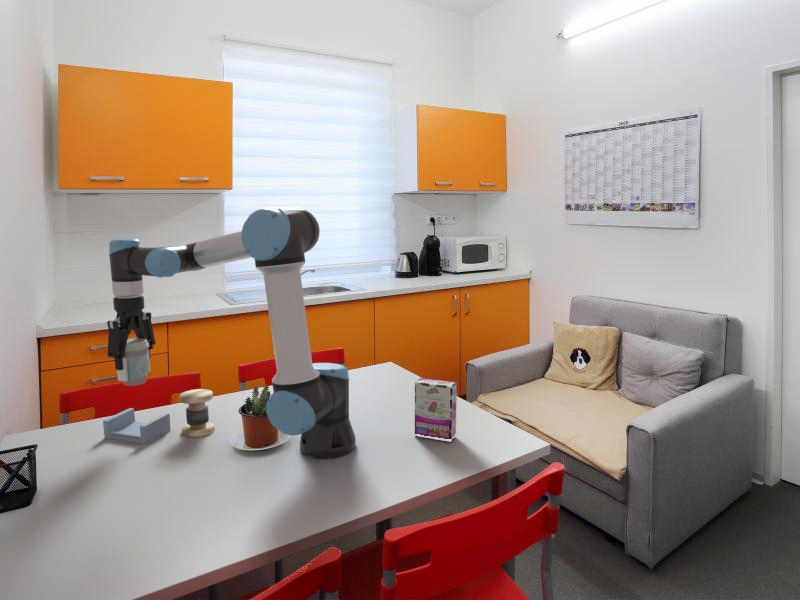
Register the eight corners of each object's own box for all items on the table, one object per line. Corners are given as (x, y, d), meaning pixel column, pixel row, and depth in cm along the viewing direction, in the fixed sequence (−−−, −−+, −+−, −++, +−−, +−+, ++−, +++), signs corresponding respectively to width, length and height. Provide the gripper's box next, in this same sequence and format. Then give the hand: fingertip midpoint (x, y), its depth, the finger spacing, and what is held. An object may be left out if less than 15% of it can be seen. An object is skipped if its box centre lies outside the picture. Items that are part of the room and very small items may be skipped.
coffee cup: (138, 388, 148) (135, 345, 146) (110, 386, 149) (107, 343, 147) (158, 378, 156) (155, 338, 154) (131, 376, 158) (128, 336, 156)
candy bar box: (456, 436, 156) (457, 381, 153) (451, 443, 151) (452, 387, 148) (419, 430, 160) (420, 376, 157) (413, 437, 155) (414, 381, 152)
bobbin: (221, 427, 161) (219, 390, 159) (201, 439, 153) (199, 401, 151) (195, 423, 164) (192, 387, 162) (174, 435, 155) (172, 397, 153)
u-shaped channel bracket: (131, 424, 162) (129, 408, 161) (170, 430, 158) (169, 413, 158) (104, 438, 153) (102, 420, 152) (145, 444, 149) (144, 426, 148)
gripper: (144, 289, 159) (149, 364, 163) (86, 301, 140) (93, 386, 144) (166, 290, 157) (171, 366, 161) (109, 303, 138) (116, 389, 142)
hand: (134, 375), depth 152 cm, fingers closed on coffee cup, 8 cm apart
